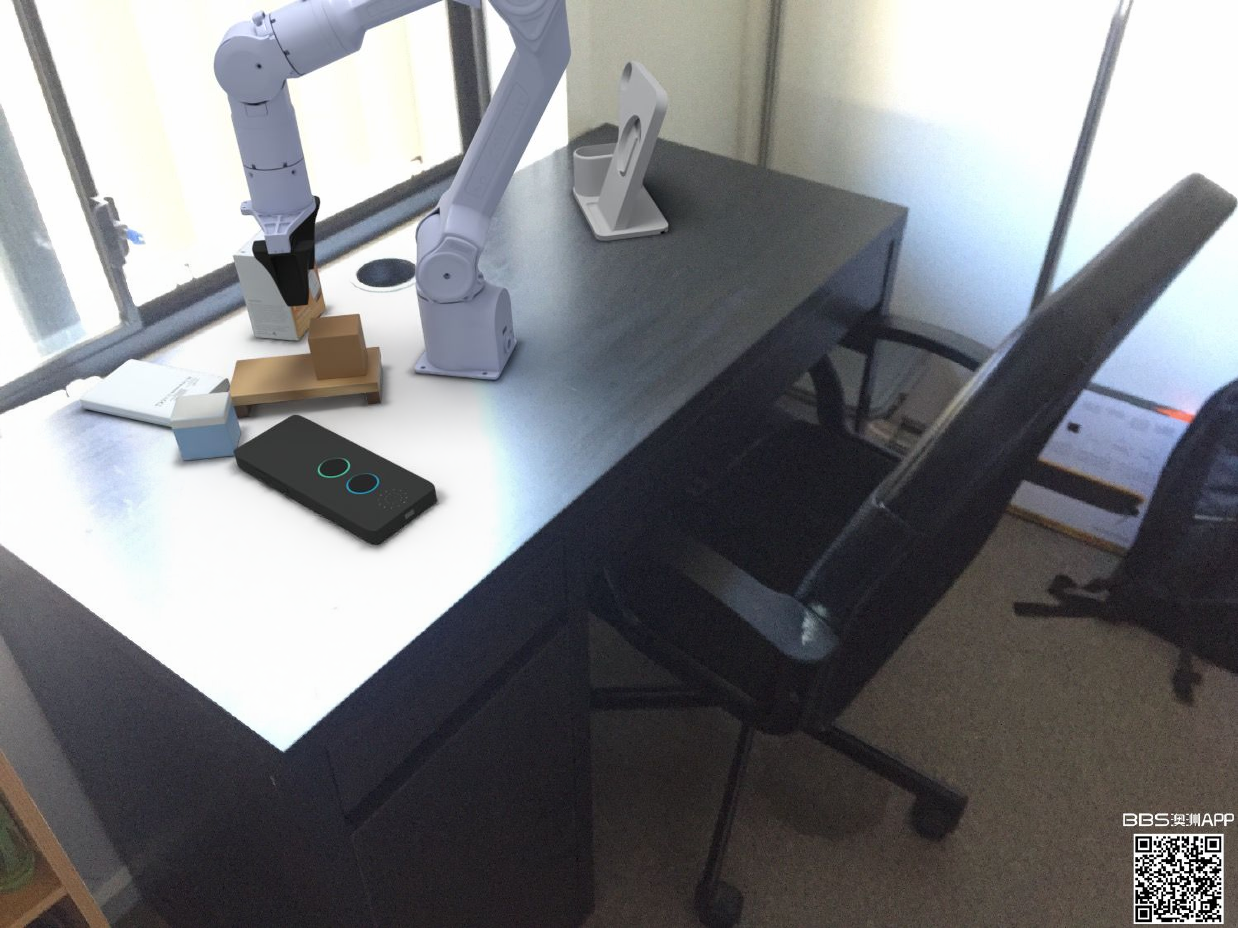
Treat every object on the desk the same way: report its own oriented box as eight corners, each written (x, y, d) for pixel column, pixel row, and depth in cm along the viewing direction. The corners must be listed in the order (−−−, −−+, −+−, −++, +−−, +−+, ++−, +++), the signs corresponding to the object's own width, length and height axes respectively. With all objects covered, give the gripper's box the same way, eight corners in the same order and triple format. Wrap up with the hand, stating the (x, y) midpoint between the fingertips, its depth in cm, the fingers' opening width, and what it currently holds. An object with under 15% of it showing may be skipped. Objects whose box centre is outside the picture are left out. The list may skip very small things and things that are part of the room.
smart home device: (371, 532, 91) (228, 451, 101) (375, 547, 92) (232, 465, 102) (439, 483, 96) (296, 410, 106) (441, 498, 97) (300, 424, 107)
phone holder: (570, 189, 151) (564, 61, 140) (638, 181, 153) (637, 54, 142) (597, 242, 138) (593, 105, 127) (672, 232, 140) (673, 96, 129)
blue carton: (241, 430, 107) (229, 391, 104) (235, 455, 103) (223, 415, 100) (190, 435, 106) (176, 396, 103) (183, 461, 103) (169, 421, 100)
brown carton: (367, 354, 112) (359, 313, 109) (366, 375, 109) (357, 334, 106) (319, 358, 112) (310, 317, 109) (317, 380, 108) (307, 338, 105)
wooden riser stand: (383, 368, 115) (379, 346, 113) (382, 404, 110) (377, 381, 108) (242, 382, 114) (236, 360, 112) (234, 419, 108) (227, 396, 106)
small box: (298, 342, 120) (278, 258, 113) (253, 338, 121) (230, 254, 114) (327, 308, 126) (310, 226, 119) (284, 304, 127) (264, 223, 120)
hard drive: (135, 369, 116) (231, 388, 113) (83, 410, 110) (183, 431, 107) (131, 357, 115) (227, 375, 112) (78, 398, 109) (178, 418, 106)
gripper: (239, 133, 105) (269, 257, 114) (218, 192, 94) (252, 324, 102) (311, 129, 106) (335, 252, 114) (299, 187, 95) (326, 318, 103)
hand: (301, 286), depth 109 cm, fingers open, 7 cm apart
